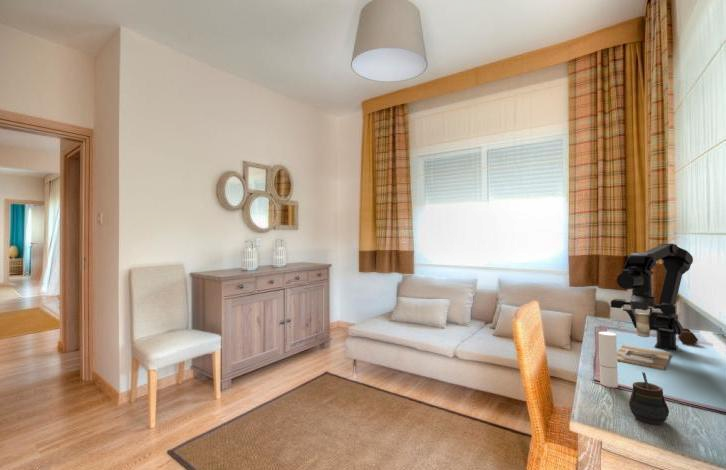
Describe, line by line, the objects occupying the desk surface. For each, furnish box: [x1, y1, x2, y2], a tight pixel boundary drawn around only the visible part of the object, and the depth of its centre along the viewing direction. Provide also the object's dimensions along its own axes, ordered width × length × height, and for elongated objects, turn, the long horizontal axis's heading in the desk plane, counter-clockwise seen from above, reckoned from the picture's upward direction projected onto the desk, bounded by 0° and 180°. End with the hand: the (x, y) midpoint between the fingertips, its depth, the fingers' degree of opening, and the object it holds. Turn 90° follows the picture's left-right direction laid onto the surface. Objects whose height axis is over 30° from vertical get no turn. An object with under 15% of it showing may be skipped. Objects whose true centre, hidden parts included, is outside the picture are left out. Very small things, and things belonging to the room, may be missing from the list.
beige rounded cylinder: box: [635, 312, 651, 338], centre depth 128 cm, size 4×4×8 cm
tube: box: [598, 331, 619, 388], centre depth 102 cm, size 4×4×15 cm
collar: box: [622, 350, 656, 364], centre depth 121 cm, size 8×8×1 cm
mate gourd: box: [628, 371, 670, 425], centre depth 83 cm, size 7×8×10 cm
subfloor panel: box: [617, 344, 672, 371], centre depth 124 cm, size 20×14×1 cm
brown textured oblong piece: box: [677, 327, 699, 346], centre depth 143 cm, size 6×5×15 cm
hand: (643, 329), depth 128 cm, fingers closed on beige rounded cylinder, 4 cm apart
